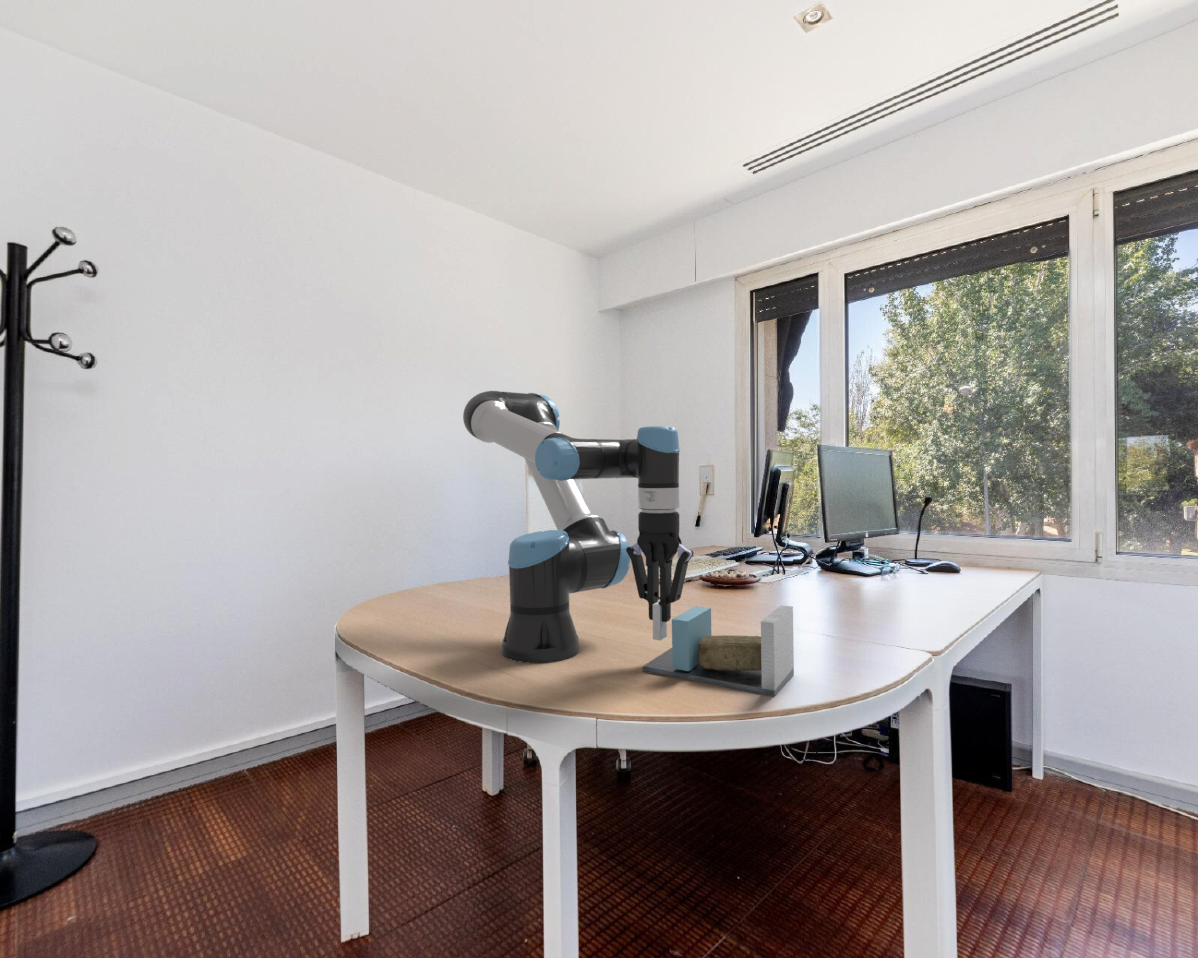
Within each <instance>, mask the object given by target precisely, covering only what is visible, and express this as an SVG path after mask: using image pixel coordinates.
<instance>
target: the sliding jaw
mask: <svg viewBox="0 0 1198 958" xmlns="http://www.w3.org/2000/svg"><path fill="white" fill-rule="evenodd" d="M705 636H712V607H707V606H706V607H705V606H700V605H698V606H697V605H695V606H693V607H691V608H690V609H688V610H686V611H685V612H683V613H681V614H678V615H677V616H675V617H673V618H671V648H672V662H673V669H679V670H684V671H690V670H691V669H693V668H694V667H695V666H696V665H698V663H699V657H698V655H699V653H698V644H699V641H701V640H702V639H703V637H705Z"/></svg>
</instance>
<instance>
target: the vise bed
mask: <svg viewBox="0 0 1198 958" xmlns="http://www.w3.org/2000/svg"><path fill="white" fill-rule="evenodd" d="M760 637H761V667H762V670H758V671H745V670H742V671H737V670H713V669H705V668H702V667H699V664H698V665H696V666H695V667H694V668H693V669H691V670H690V671H684V670H679V669H673V662H672V647H670V648H669V649H667V650H666V651H664V652H663V653H661V654H660V655H658V656H656V657H655V658H654V659H651V660H650V661H649V662H648V663H645V664H644V665H642V672H644V673H647V674H652V675H658V676H663V677H664V676H665V677H669V678H674V679H680V680H685V681H691V682H694V683H702V684H706V685H711V686H717V687H721V688H722V687H723V688H726V689H732V690H738V691H743V692H748V693H754V694H760V695H765V696H770V697H776V696H777V695H778V694H779V693H780V692H781V690H782V689H783V688H784V687H785V686H786V685H787V684H788V682H789V681H790V680H791V679H792V678H793V677H794V676H795V675H794V674H795V672H794V671H795V669H794V667H795V665H794V664H795V662H794V660H795V659H794V658H795V657H794V606H789V605H780V606H778V607H777V608H776V609H774V610H773V611H772V612H771V613H770V614H768V615H767V616H765V617H764V618H763V619H762V620H761V621H760Z"/></svg>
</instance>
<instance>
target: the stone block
mask: <svg viewBox="0 0 1198 958" xmlns="http://www.w3.org/2000/svg"><path fill="white" fill-rule="evenodd" d="M698 653H699V655H698V657H699V663H698V664H699V667H702V668H705V669H713V670H737V671H742V670H745V671H758V670H762V667H761V636H759V635H711V636H705V637H703V639H702V640H701V641H699V644H698Z"/></svg>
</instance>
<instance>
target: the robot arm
mask: <svg viewBox="0 0 1198 958" xmlns="http://www.w3.org/2000/svg"><path fill="white" fill-rule="evenodd" d="M559 417H560V412H559V409H558V407H557V405H556V403H555V402H554V401H553V400H552V399H551V398H550V397H548V396H546V395H545V394H538V393H534V392H528V393H524V392H523V393H522V392H514V391H513V392H511V391H499V390H487V391H483V392H479V393H478V394H476V395H474V396H473V397H472V398H470V399H469V400H468V401H467V403H466V404H465V407H464V410H463V414H462V418H463V424H464V427H465V429H466V431H467V432H468V433H469V434H470V435H471V436H472V437H474V438H476V439H477V440H479V441H481V442H483V443H488V444H490V443H495V444H497V445H499V446H501V447H502V448H505V449H506V450H509V451H510V452H512V453H514V454H515V455H518V456H519V457H522V458H524V460H525V462H526V464H527V467H528V469H529V471H530V473H531V475H532V477H533V480H534V482H535V483H536V486H537V488H538V490H539V492H540V495H541V497H542V499H543V501H544V504H545V506H546V507H547V510H548V513H549V514H550V516H551V519H552V521H553V523H554V525H555V527H556V529H549V530H544V531H540V530H539V531H535V532H529V533H525V534H523V535H519V536H518V537H516V538H514V539H513V540H512V541H511V543H510V545H509V549H508V550H509V552H508V561H507V564H508V567H509V569H508V571H509V572H508V573H509V575H508V576H509V603H510V604H509V605H510V607H509V608H510V612H509V617H508V620H507V621H508V622H507V625H506V628H505V632H504V636H503V639H502V643H501V648H502V649H501V652H502V653H501V654H502V656H503V657H504V658H505V659H507V660H510V659H512V660H511V661H513V660H515V661H514V662H518V661H521V662H520V663H526V662H529V664H546V663H556V662H560V661H565V660H567V659H570V658H572V657H573V656H576V655H577V654H578V653H579V651H580V639H579V635H578V634H577V630H576V626H575V624H574V621H573V618H572V614H571V612H570V594H575V593H580V592H586V591H592V590H596V589H597V590H598V589H606V588H608V587H609V588H610V587H612V586H616V585H618V584H620V583H622V581H623V580H624V579H625V578H626V577H627V575H628V573H629V570H630V566H632V571H633V575H634V579H635V585H636V590H637V594H638V597H639V598H640V599H641V600H642V599H644V600H645V601H646V602H647V604H648V618H649V620H650V621H652V640H655V641H662V640H664V639H665V638H667V637H668V636H667V633H668V632H667V629H668V628H667V625H668V624H667V623H668V622H669V621H670V620H671V619H672V618H671V617H672V615H671V614H672V613H671V611H672V610H671V607H672V606H671V605H672V603H676V602H677V601H679V600H680V599H681V597H682V592H683V587H684V583H685V579H686V574H687V571H688V565H689V562H690V561H691V559H692V557H693V556H694V551H693V549H688V548H686V547H685V546H684V545H683V544H682V539H681V537H680V513H679V512H678V511H677V510H678V509H679V508H680V479H679V478H680V477H679V476H680V467H679V466H680V451H681V449H680V444H679V443H680V442H679V441H680V440H679V432H678V430H677V428H676V427H674V426H668V425H667V426H665V425H662V426H661V425H658V426H657V425H653V426H650V425H649V426H643V427H640V428H638V430H637V437H636V438H635V439H634V438H630V439H629V438H628V439H627V438H626V439H625V438H624V439H612V438H611V439H609V438H608V439H605V438H602V439H599V438H576V437H571V436H569V435H567V434H564V433H562V432H560V431H559V429H560V426H561V425H560V423H561V420H560V419H559ZM630 478H631V479H637V480H638V481H637V482H638V483H637V487H638V488H637V489H638V490H637V491H638V492H637V493H638V494H637V497H638V499H637V500H638V509H640V510H641V511H639V513H638V514H637V515H638V517H637V518H638V521H637V523H638V524H637V525H638V526H637V527H638V532H639V533H638V537H637V539H636V543H634V544H633V545H631V546H630V544H629V541H628V539H627V537H626V536H625V535H624V534H623V532H619V531H618V530H614V529H613V530H610V529H609V527H608V525H607V523H606V521H605V519H604V518H603V517H601V516H600V515H596V514H594V513H593V511H592V509H591V507H590V506H589V503H588V501H587V499H586V498H585V495H584V493H583V491H582V490H581V487H580V486H579V483H578V482H577V480H592V479H595V480H596V479H630ZM642 554H643V555H644V556H645V563H644V558H643V555H642ZM676 554H677V558H678V559H677V561H676V565H675V570H674V574H673V577H672V566H673V558H675V555H676ZM672 578H673V579H672Z"/></svg>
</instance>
